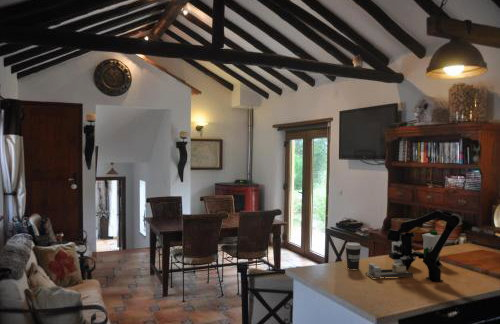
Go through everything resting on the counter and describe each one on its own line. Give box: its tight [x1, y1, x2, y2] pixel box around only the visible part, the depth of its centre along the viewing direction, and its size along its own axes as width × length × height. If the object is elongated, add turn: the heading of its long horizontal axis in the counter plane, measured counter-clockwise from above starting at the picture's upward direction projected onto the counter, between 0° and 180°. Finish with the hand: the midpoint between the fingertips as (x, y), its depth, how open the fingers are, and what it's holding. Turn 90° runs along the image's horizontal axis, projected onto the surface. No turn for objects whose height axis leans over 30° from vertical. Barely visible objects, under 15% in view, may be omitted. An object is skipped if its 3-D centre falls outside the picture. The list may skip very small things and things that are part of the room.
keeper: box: [391, 263, 406, 273], centre depth 224 cm, size 6×5×4 cm
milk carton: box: [421, 230, 442, 264], centre depth 248 cm, size 9×9×20 cm
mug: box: [391, 241, 417, 265], centre depth 245 cm, size 15×11×13 cm
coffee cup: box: [344, 241, 362, 270], centre depth 237 cm, size 10×10×15 cm
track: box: [365, 262, 414, 278], centre depth 224 cm, size 9×24×6 cm, turn 98°
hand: (406, 270), depth 225 cm, fingers closed
